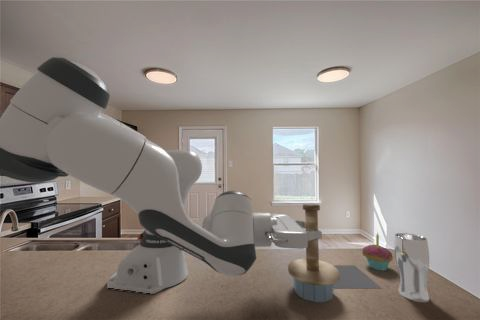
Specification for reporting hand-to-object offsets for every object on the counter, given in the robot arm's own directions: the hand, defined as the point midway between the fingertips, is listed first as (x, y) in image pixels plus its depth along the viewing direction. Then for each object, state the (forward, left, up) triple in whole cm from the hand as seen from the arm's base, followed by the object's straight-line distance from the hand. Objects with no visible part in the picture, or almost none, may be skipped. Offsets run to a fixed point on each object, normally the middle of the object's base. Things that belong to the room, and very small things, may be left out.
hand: (314, 228), depth 57 cm
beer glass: (+24, -2, -17) cm, 29 cm away
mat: (+11, +8, -16) cm, 21 cm away
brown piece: (-1, 0, -11) cm, 12 cm away
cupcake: (+25, +14, -17) cm, 33 cm away
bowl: (-1, 0, -16) cm, 17 cm away
